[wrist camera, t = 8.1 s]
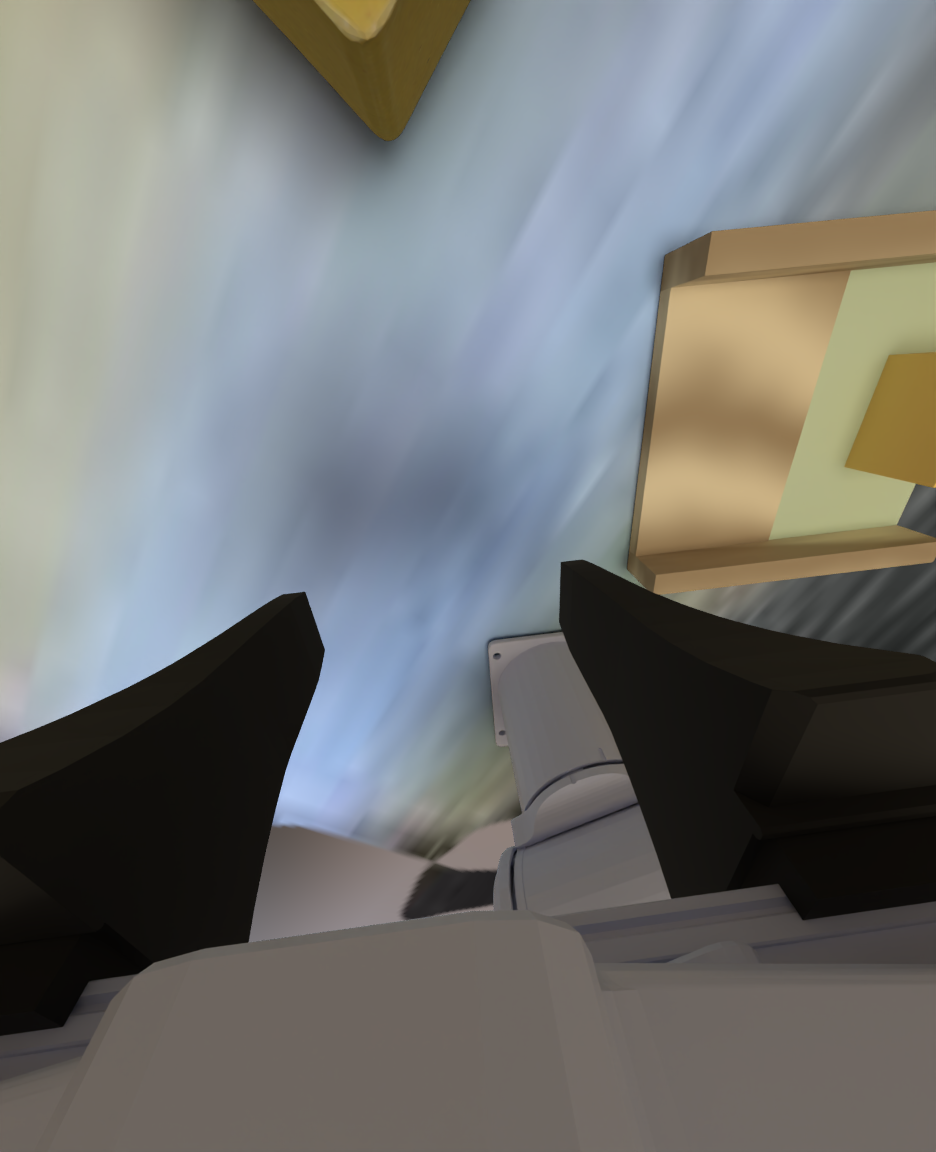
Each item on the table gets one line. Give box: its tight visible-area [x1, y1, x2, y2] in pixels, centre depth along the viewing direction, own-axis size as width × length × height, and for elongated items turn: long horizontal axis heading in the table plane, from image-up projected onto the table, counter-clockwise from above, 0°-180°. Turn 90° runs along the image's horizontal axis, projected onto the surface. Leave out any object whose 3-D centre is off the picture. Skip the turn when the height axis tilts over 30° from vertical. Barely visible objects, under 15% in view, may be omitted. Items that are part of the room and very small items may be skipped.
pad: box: [769, 262, 936, 540], centre depth 19 cm, size 12×8×1 cm, turn 5°
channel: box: [627, 210, 936, 595], centre depth 18 cm, size 14×15×3 cm
